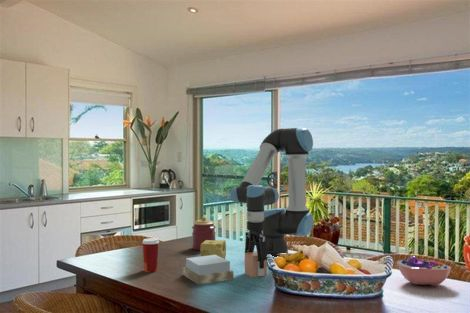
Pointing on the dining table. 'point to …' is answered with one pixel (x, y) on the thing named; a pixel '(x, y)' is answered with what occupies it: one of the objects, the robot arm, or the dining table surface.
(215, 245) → the cheese
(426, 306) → the dining table surface
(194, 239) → the canister
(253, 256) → the terracotta block
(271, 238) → the robot arm
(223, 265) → the tower top
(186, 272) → the tower base
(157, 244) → the paper cup
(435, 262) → the cell model
